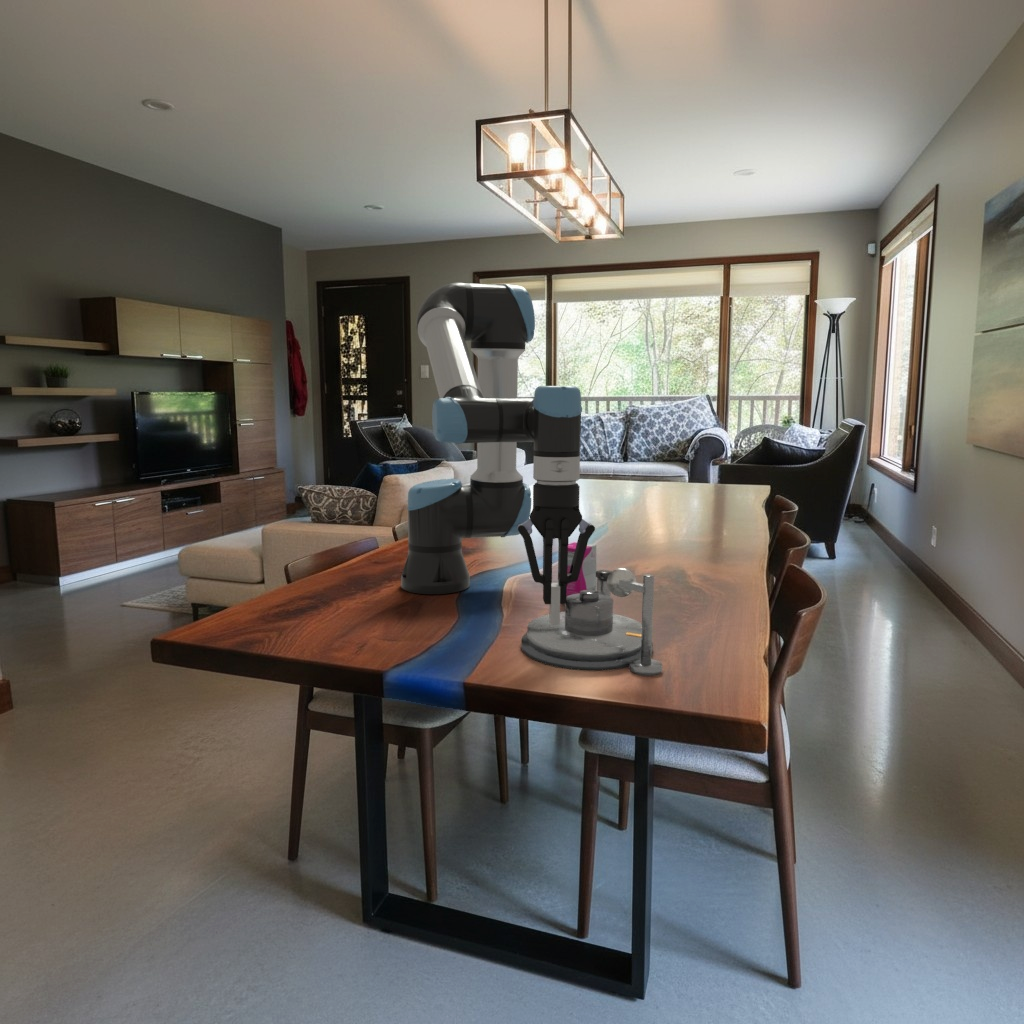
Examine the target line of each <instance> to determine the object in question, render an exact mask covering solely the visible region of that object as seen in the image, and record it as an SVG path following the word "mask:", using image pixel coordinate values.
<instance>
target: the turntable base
mask: <svg viewBox="0 0 1024 1024" xmlns="http://www.w3.org/2000/svg"><path fill="white" fill-rule="evenodd" d="M520 641H521V643H520V645H521V646H520V647H521V648H520V649H521V651H522V652H523V653H524V655H526V656H527V657H528V658H530V659H531V660H534V661H536V662H538V663H539V664H544V665H545V666H546V665H547V666H551V667H553V668H554V667H555V668H559V669H565V670H571V671H573V670H574V671H584V672H585V671H586V672H588V671H592V672H594V671H595V672H596V671H597V672H599V671H600V672H601V671H613V670H614V671H615V670H621V669H625V668H629V664H630V661H631V660H634V659H638V658H641V651H640V652H638V653H636V654H634V655H631V656H628V657H623V658H618V659H611V660H575V659H567V658H561V657H556V656H552V655H549V654H546V653H543V652H540V651H538V650H536V649H534V648H533V647H532V646H531V645H530V644H529V643H528V641H527V632H525V633H524V634H523V636H522V637H521V640H520ZM653 646H654V643H652V653H651V656H652V654H653V652H654V651H653V649H654V647H653Z"/></svg>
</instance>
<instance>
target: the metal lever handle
mask: <svg viewBox="0 0 1024 1024" xmlns="http://www.w3.org/2000/svg"><path fill="white" fill-rule="evenodd" d="M611 571H612V570H611ZM654 583H655V575H653V574H643V575H642V583H640V582H637V578H636V576H635V574H634V573H633V572H632V571H631V570H630V569H628V568H626V567H618V568H616V569H614V570H613V571H612V572H611V573H610V574H609V576H608V578H607V586H608V588H609V590H610V592H611V594H612V595H614V596H616V597H619V598H623V597H627V596H629V595H631V594H632V593H633V592H635V591H636V592H639V593H642V608H641V610H642V611H641V624H642V635H641V658H638V659H634V660H631V661H630V664H629V667H628V669H629V671H630V672H631V673H632V674H633V675H637V676H643V677H654V676H659V675H660V674H662V672H663V663H662V662H661V661H659V660H656V659H654V658H652V655H651V653H652V654H653V652H652V644H653V620H654V619H653V617H654V616H653V615H654V591H655V590H654V589H655V588H654V587H655V585H654Z"/></svg>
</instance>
